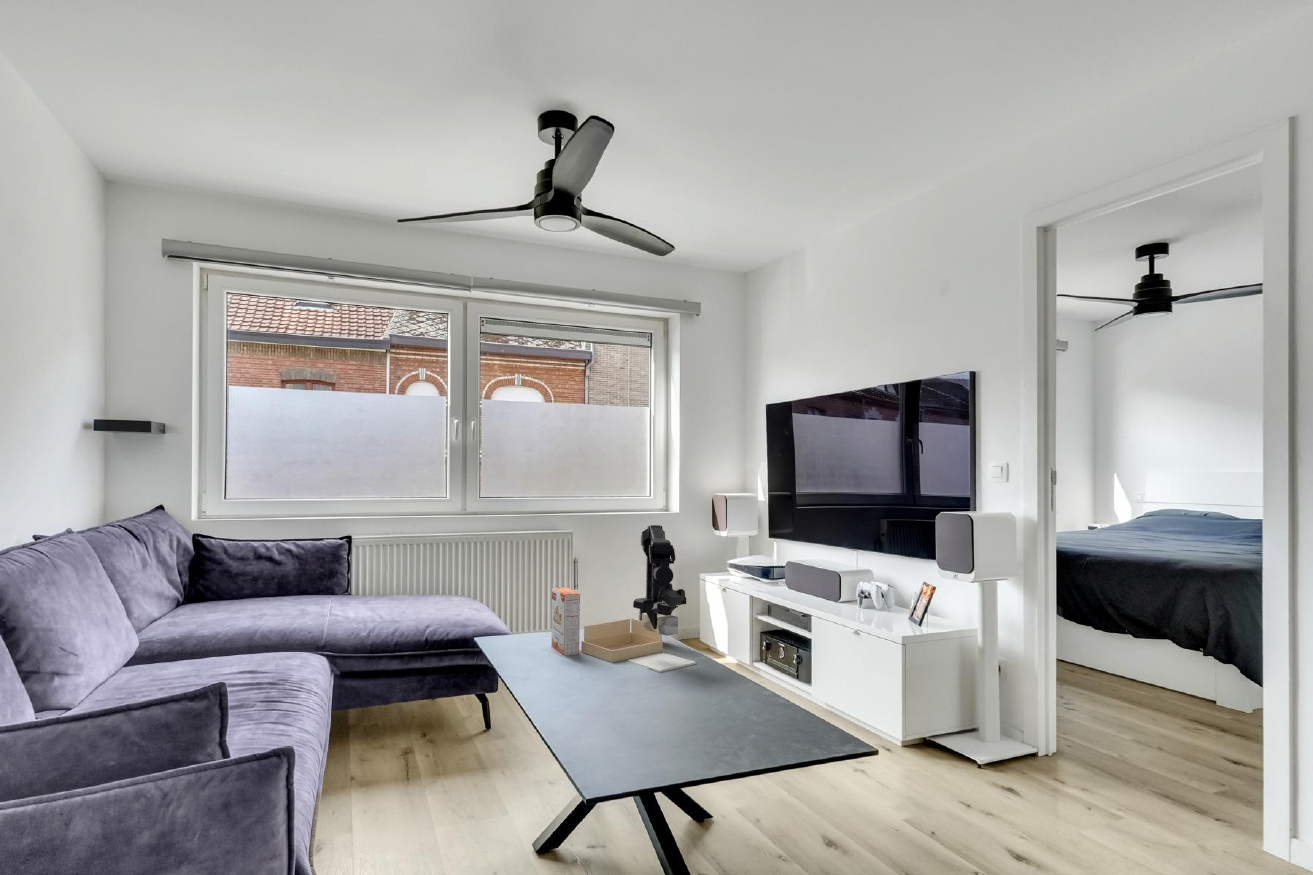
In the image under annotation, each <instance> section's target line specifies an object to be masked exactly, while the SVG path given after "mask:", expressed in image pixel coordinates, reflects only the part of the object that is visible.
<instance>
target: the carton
mask: <svg viewBox="0 0 1313 875" xmlns="http://www.w3.org/2000/svg"><path fill="white" fill-rule="evenodd" d="M583 626H584V627H583V640H581V648H580V650H581V651H580V652H581V653H583V654H585V655H589V656H592V657H595V658H598V659H601V660H604V661H606V662H610V663H615V662H620V661H624V660H626V661H627V660H629V659H634V658H639V657H644V656H649V655H653V654H658V653H663V652H664V650H663V648H664V646H663V645H664V643H663V642H664V641H663V640H662V638H663V635H662V634H659V633H656V632H652V631H648V630H645V629H642V621H640V620H639V619H636V618H626V619H621V620H614V621H607V622H601V623H596V624H595V623H594V624H588V625H583Z"/></svg>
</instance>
